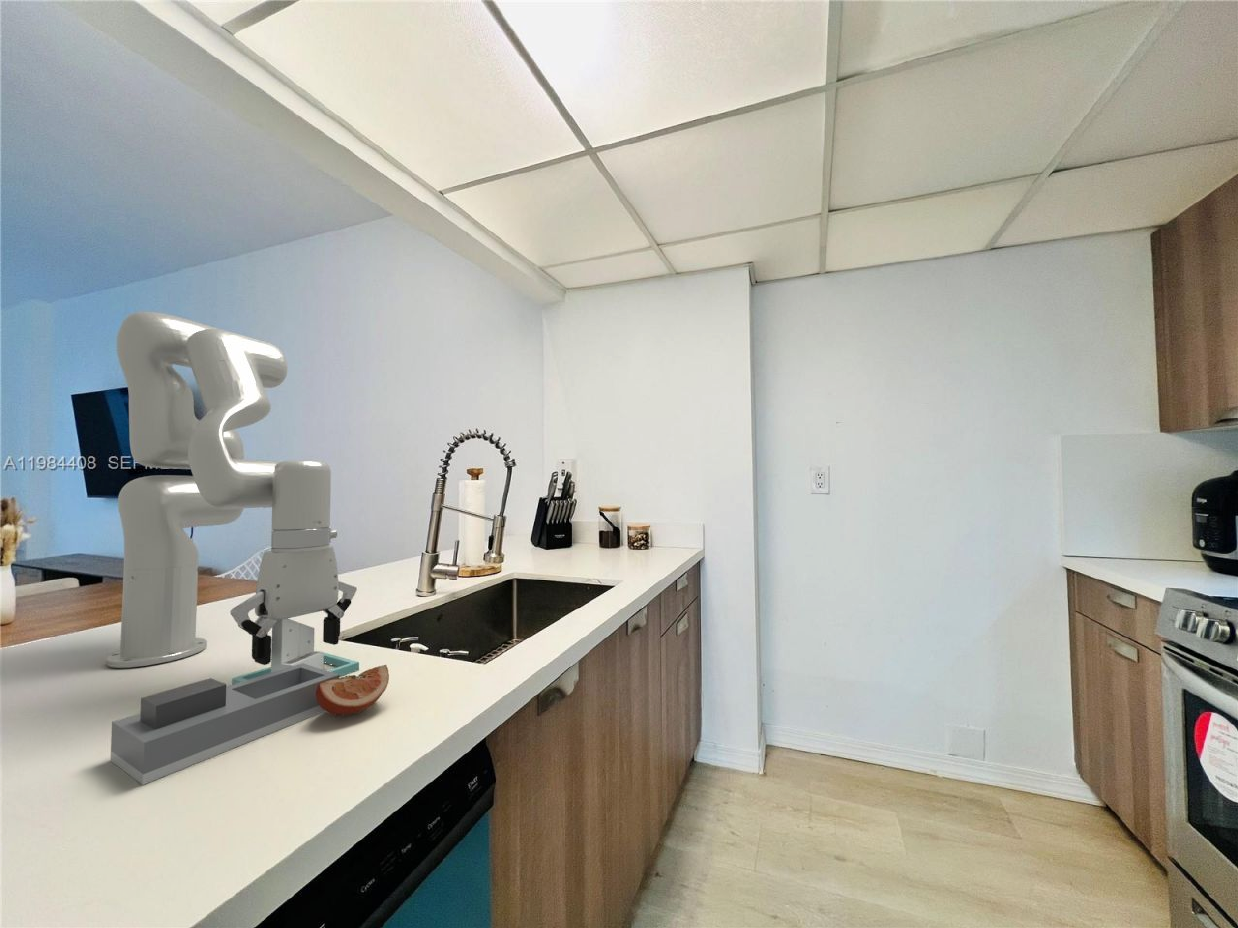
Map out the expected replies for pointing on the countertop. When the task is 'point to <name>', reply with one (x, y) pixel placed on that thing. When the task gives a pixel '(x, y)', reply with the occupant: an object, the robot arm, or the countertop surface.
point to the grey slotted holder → (211, 719)
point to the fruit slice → (352, 691)
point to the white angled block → (293, 646)
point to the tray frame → (343, 664)
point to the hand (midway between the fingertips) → (298, 652)
